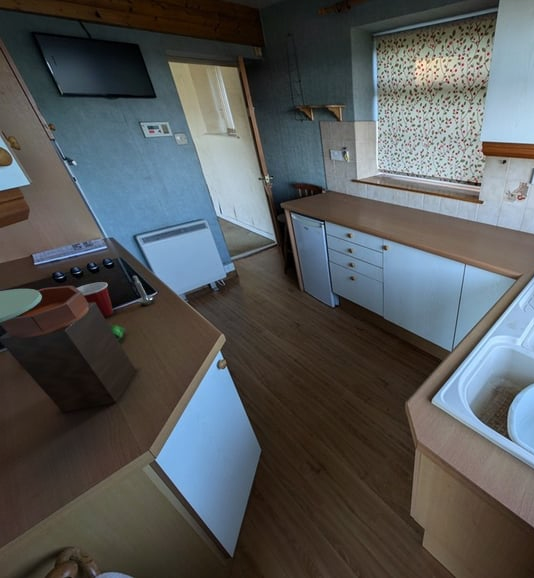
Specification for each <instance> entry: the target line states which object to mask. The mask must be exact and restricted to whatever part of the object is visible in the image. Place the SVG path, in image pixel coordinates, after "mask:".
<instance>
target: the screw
mask: <svg viewBox="0 0 534 578" xmlns="http://www.w3.org/2000/svg"><path fill="white" fill-rule="evenodd" d="M132 279H133V281H134V285H135V287H136V289H137V291H138V293H139V295H140V298H139V299H138V301H137V302H138V303H139V304H143V306H149V305H151V304H152V300H153V299H154V296H152V295H147V292H146V291H145V288H144V287H143V285H142V282H141V280H139V278H138V276H137V275H133V276H132Z"/></svg>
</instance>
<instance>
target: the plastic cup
mask: <svg viewBox="0 0 534 578" xmlns="http://www.w3.org/2000/svg"><path fill="white" fill-rule="evenodd" d="M108 284H109V283H107V282H103V281H101V282H93V283H88V284H84V285H81V286H79V287H75V288H76V289H78V290H79V291H81V292H82V294H83V296H84V297H85V299H86V300H87V302H88V303H92V302H95V303H96V305H97V306H98V308H99V310H100V311H101V313H102V315H103V316H104V318H105V319H106V318H108V317H110V316H112V314H113V313H114V310H113V306H112V302H111V298H110V295H109V290H108Z"/></svg>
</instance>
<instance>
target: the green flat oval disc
mask: <svg viewBox="0 0 534 578" xmlns="http://www.w3.org/2000/svg"><path fill="white" fill-rule="evenodd" d="M37 290H38V289H37ZM37 290H36V289H32V288H14V289H6V290H0V322H3V321H6V320H8V319H11V318H13V317H16V316H18V315H20V314H22V313H24V312H26V311H28V310H29V309H31V308H33V307H34V306H35V305H37V304H38V303H39V302H40V301H41V299H42V296H41V294H40V293H39V292H38V291H37Z"/></svg>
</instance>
